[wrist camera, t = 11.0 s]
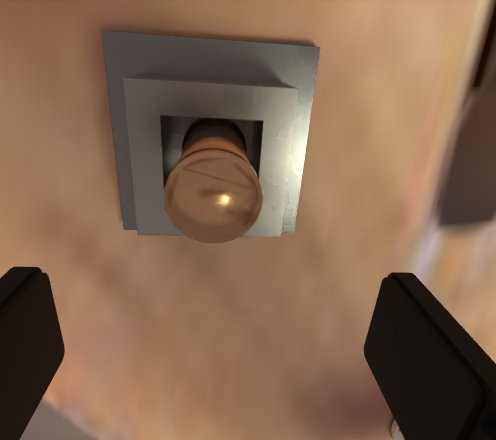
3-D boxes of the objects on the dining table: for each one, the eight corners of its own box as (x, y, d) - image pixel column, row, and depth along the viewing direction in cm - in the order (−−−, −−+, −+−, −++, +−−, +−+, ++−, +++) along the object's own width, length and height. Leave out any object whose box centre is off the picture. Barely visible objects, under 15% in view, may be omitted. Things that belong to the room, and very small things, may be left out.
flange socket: (316, 47, 23) (346, 44, 18) (291, 226, 29) (308, 265, 24) (105, 31, 22) (69, 23, 16) (126, 223, 28) (105, 264, 22)
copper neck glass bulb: (247, 116, 24) (266, 154, 15) (243, 178, 26) (258, 243, 17) (182, 113, 23) (161, 150, 14) (183, 176, 25) (166, 242, 16)
